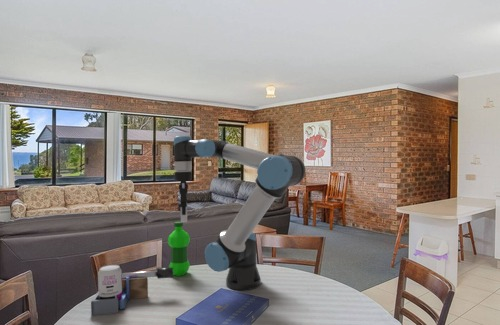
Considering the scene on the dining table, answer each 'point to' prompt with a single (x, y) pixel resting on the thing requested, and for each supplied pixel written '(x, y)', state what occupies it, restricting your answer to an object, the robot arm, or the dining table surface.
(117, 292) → the supplement can
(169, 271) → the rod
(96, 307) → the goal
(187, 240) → the plastic bottle
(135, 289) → the brown wooden board
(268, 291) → the dining table surface
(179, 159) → the robot arm
